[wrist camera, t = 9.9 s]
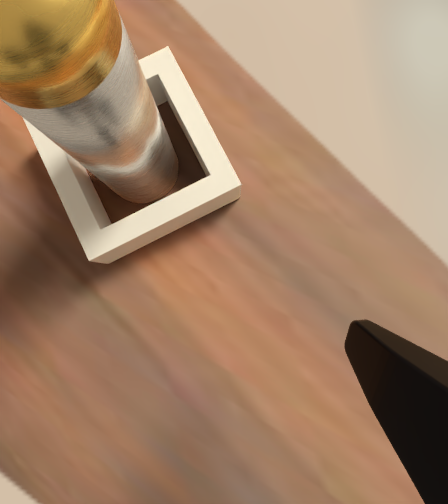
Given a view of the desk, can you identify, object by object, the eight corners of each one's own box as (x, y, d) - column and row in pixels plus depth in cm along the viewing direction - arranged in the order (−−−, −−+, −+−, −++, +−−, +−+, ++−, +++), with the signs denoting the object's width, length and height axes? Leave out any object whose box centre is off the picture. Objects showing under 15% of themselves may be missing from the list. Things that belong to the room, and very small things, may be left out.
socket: (240, 197, 18) (241, 184, 16) (108, 264, 18) (89, 261, 16) (176, 76, 19) (168, 46, 17) (49, 138, 19) (22, 116, 16)
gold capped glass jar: (182, 199, 18) (96, 44, 6) (109, 207, 18) (-108, 66, 6) (175, 130, 19) (85, -133, 7) (105, 138, 19) (-107, -112, 7)
